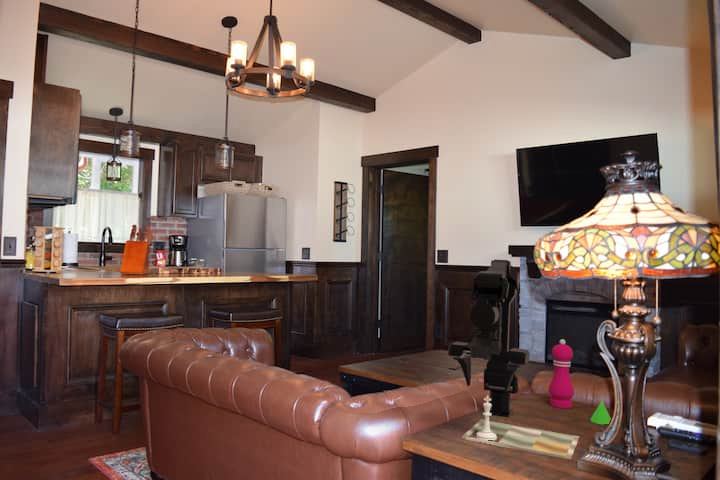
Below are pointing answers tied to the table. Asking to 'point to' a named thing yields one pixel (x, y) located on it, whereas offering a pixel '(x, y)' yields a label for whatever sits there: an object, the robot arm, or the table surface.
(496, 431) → the game board
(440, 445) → the table surface
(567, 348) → the pepper mill
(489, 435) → the chess piece
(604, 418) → the gemstone
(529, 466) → the table surface
